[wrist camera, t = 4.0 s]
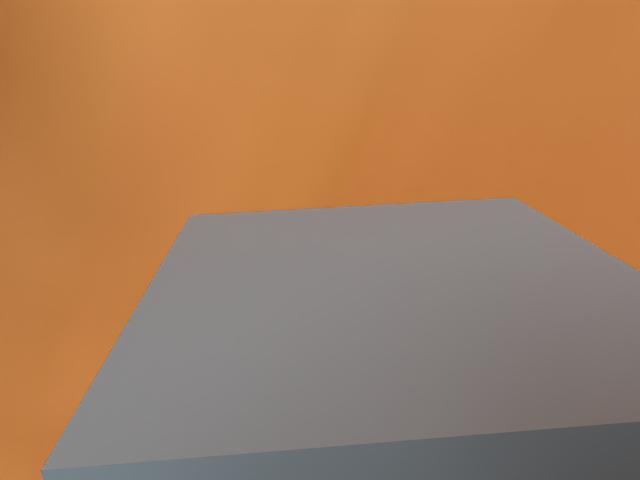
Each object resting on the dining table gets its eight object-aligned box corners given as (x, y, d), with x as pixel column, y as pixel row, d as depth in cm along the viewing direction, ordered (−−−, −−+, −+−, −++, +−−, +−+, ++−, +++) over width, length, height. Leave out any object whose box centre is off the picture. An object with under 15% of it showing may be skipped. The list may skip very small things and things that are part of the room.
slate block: (514, 197, 9) (861, 403, 4) (488, 451, 11) (689, 832, 6) (190, 215, 9) (40, 469, 3) (223, 474, 11) (165, 899, 5)
